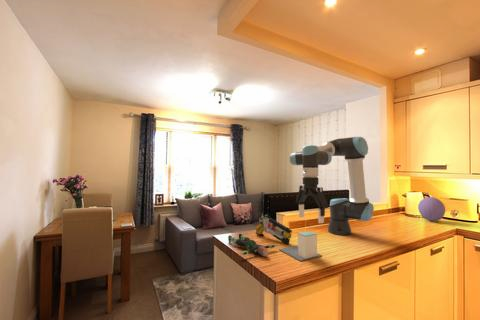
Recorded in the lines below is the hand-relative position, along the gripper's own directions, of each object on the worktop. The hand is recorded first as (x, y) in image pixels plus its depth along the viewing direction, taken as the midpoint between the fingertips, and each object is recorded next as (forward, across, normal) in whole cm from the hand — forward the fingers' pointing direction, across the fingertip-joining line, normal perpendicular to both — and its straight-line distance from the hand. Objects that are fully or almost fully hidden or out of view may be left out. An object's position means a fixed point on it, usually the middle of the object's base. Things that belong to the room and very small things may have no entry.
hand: (310, 219), depth 112 cm
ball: (+18, -16, +145) cm, 147 cm away
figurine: (+20, -26, -21) cm, 38 cm away
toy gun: (+19, -34, 0) cm, 39 cm away
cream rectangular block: (+18, -3, +1) cm, 19 cm away
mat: (+19, -9, 0) cm, 21 cm away
